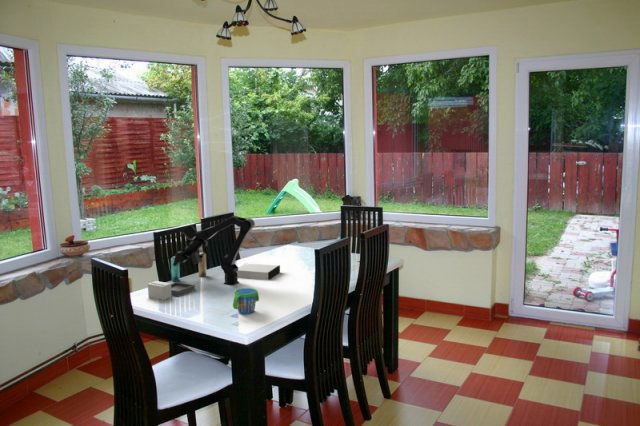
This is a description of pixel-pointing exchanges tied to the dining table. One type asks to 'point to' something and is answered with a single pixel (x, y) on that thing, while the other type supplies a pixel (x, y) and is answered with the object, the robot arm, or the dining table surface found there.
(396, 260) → the dining table surface
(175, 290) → the tray
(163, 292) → the block
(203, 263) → the cylinder
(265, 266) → the disc drive
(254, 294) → the snack cup
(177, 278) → the cylinder
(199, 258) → the robot arm
